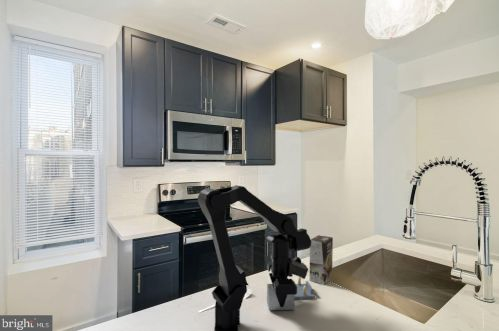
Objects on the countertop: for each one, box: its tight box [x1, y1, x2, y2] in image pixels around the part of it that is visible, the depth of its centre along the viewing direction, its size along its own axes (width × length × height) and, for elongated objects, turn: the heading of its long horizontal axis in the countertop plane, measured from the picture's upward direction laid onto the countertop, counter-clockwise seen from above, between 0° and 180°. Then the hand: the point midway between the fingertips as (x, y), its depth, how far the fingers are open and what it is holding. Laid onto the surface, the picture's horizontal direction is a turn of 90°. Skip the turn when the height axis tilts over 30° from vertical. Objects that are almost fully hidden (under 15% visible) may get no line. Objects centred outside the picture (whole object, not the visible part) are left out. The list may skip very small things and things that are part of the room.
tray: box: [287, 276, 317, 300], centre depth 91 cm, size 12×9×4 cm
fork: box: [197, 287, 253, 314], centre depth 84 cm, size 3×20×2 cm, turn 124°
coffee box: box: [308, 234, 334, 285], centre depth 101 cm, size 9×6×16 cm
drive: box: [266, 283, 296, 311], centre depth 81 cm, size 8×4×6 cm, turn 94°
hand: (280, 302), depth 81 cm, fingers closed on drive, 4 cm apart
